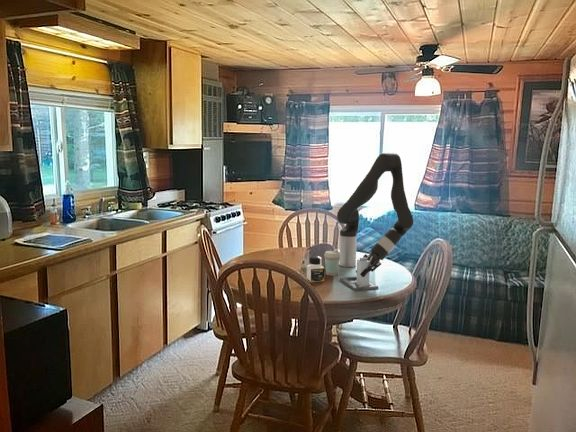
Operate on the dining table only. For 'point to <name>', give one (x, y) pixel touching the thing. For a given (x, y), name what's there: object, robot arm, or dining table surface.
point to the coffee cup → (332, 262)
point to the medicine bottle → (315, 269)
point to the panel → (352, 284)
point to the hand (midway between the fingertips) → (359, 274)
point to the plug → (360, 267)
